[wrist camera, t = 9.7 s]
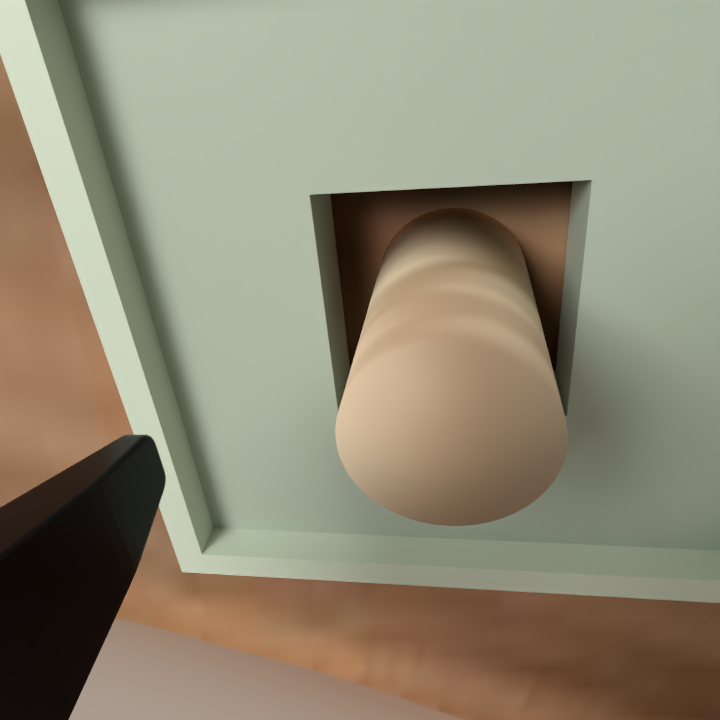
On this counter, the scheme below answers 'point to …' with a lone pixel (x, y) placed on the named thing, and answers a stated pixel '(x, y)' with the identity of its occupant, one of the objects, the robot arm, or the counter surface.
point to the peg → (452, 378)
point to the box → (321, 271)
